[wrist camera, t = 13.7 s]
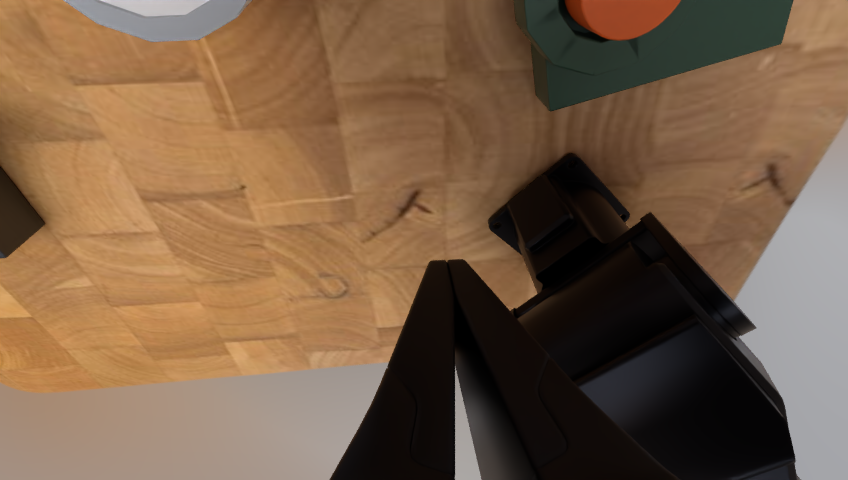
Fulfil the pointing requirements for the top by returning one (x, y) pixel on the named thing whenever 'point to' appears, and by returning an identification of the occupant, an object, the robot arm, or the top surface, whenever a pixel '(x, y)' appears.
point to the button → (620, 16)
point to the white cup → (162, 16)
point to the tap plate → (15, 217)
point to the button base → (641, 45)
